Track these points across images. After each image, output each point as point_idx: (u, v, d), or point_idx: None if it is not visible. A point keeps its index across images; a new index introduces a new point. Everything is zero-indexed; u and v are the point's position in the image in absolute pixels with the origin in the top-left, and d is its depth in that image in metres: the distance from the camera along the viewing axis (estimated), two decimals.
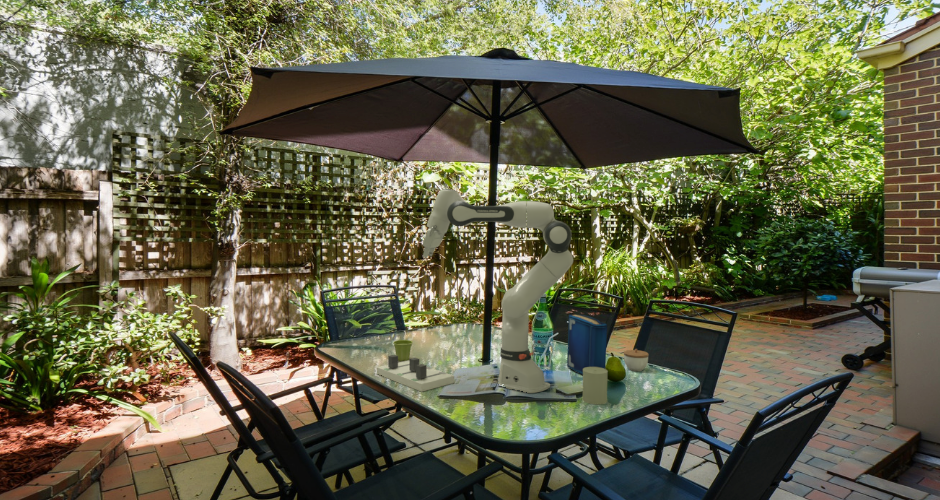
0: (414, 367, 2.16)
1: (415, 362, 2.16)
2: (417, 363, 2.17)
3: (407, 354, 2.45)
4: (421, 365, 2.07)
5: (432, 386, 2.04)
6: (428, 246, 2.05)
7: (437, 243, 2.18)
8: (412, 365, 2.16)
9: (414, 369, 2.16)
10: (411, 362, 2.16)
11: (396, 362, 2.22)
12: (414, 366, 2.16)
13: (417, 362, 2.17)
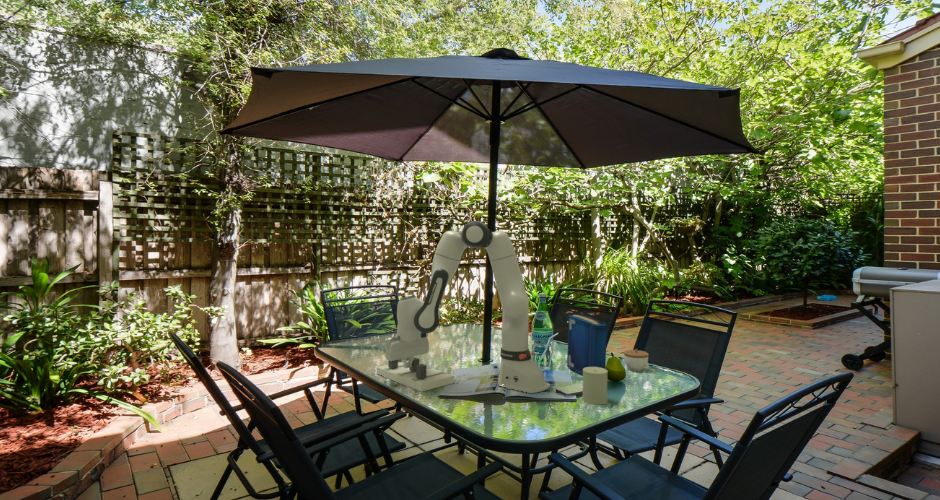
0: (414, 367, 2.16)
1: (415, 362, 2.16)
2: (417, 363, 2.17)
3: None
4: (421, 365, 2.07)
5: (432, 386, 2.04)
6: (389, 359, 2.07)
7: (416, 351, 2.16)
8: (412, 365, 2.16)
9: (414, 369, 2.16)
10: None
11: (396, 362, 2.22)
12: (414, 366, 2.16)
13: (417, 362, 2.17)
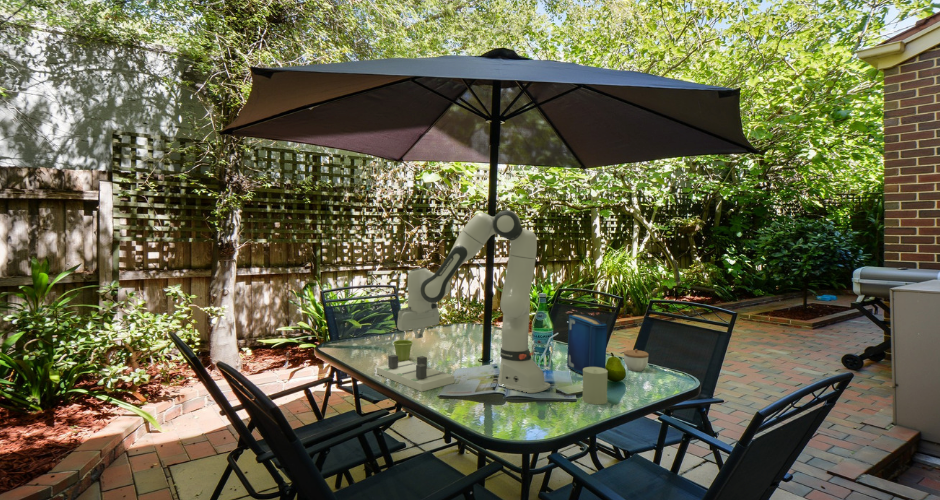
0: None
1: (422, 360, 2.19)
2: (425, 361, 2.20)
3: (407, 354, 2.45)
4: (421, 365, 2.07)
5: (432, 386, 2.04)
6: (401, 329, 2.11)
7: (427, 322, 2.19)
8: (420, 363, 2.19)
9: None
10: (419, 360, 2.19)
11: (396, 362, 2.22)
12: None
13: (425, 360, 2.20)
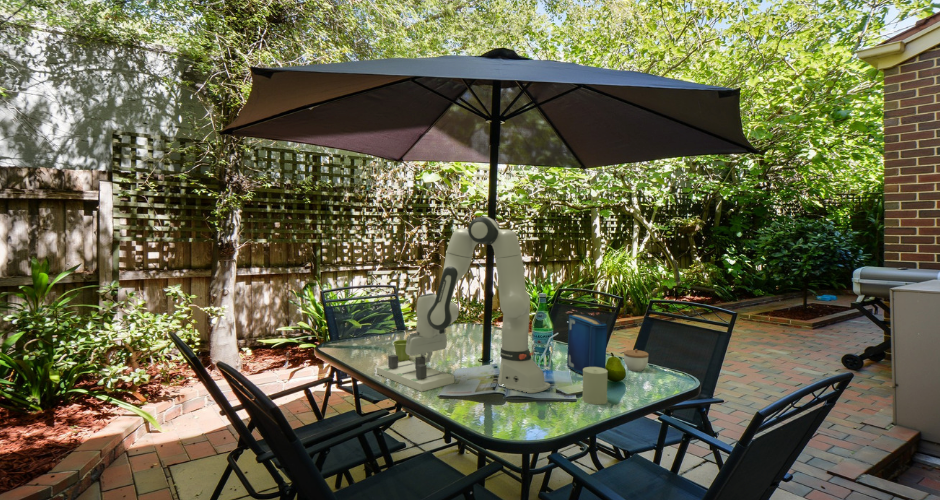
0: None
1: (420, 360, 2.18)
2: (423, 362, 2.19)
3: None
4: (421, 365, 2.07)
5: (432, 386, 2.04)
6: (409, 354, 2.15)
7: (434, 347, 2.23)
8: (418, 363, 2.18)
9: None
10: (417, 361, 2.19)
11: (396, 362, 2.22)
12: None
13: (423, 361, 2.19)
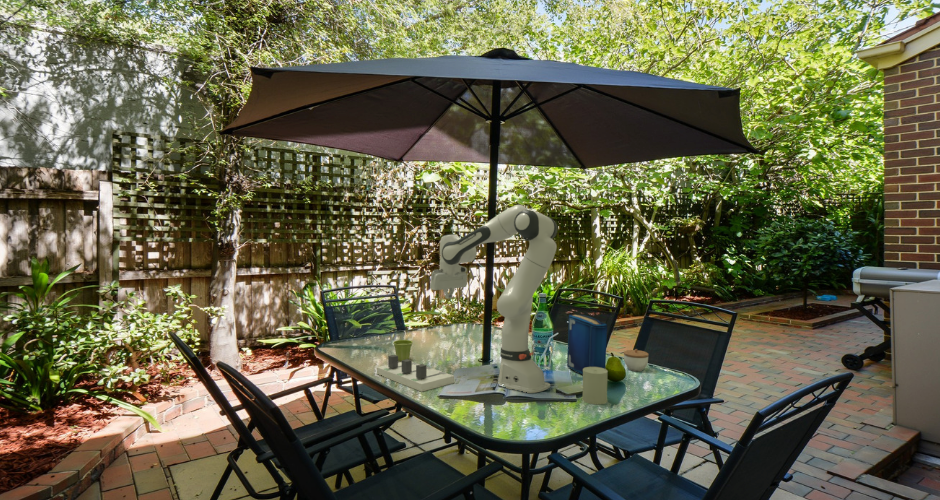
0: (406, 369, 2.13)
1: (407, 363, 2.13)
2: (409, 365, 2.14)
3: (407, 354, 2.45)
4: (421, 365, 2.07)
5: (432, 386, 2.04)
6: (433, 288, 2.33)
7: (456, 284, 2.41)
8: (404, 366, 2.13)
9: (406, 371, 2.13)
10: (404, 364, 2.14)
11: (396, 362, 2.22)
12: (406, 368, 2.13)
13: (409, 364, 2.14)
